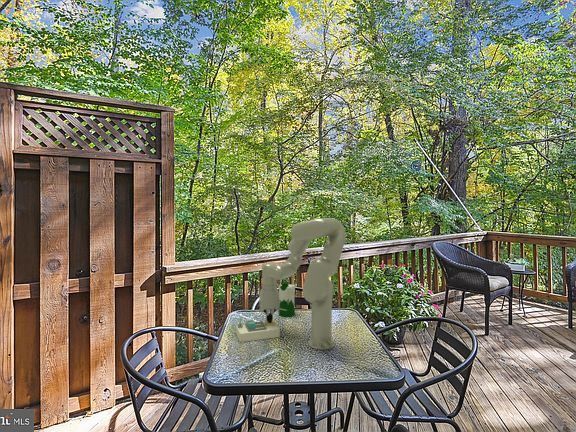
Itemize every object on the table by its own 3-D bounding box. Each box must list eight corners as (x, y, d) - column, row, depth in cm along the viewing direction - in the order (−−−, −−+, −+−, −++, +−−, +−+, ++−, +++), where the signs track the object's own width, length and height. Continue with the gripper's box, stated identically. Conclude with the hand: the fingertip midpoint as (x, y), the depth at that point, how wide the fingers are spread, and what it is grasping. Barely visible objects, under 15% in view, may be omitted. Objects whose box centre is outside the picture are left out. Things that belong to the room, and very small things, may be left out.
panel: (279, 336, 163) (279, 317, 163) (240, 342, 157) (239, 321, 156) (273, 328, 174) (273, 310, 174) (235, 333, 168) (235, 314, 168)
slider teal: (255, 330, 161) (255, 323, 161) (249, 331, 160) (249, 323, 160) (254, 328, 164) (254, 321, 164) (248, 329, 163) (248, 322, 163)
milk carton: (276, 315, 195) (276, 282, 195) (285, 311, 203) (284, 279, 203) (289, 318, 191) (289, 284, 190) (297, 314, 198) (297, 281, 198)
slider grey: (253, 326, 166) (253, 320, 166) (247, 327, 165) (247, 320, 165) (252, 325, 169) (252, 318, 168) (246, 325, 168) (246, 318, 168)
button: (274, 332, 169) (274, 323, 169) (266, 333, 167) (266, 323, 167) (272, 329, 173) (272, 320, 173) (264, 330, 172) (264, 321, 171)
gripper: (281, 284, 176) (281, 318, 176) (253, 286, 171) (253, 321, 171) (285, 287, 168) (285, 322, 169) (256, 289, 164) (257, 326, 164)
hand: (269, 321), depth 170 cm, fingers closed
